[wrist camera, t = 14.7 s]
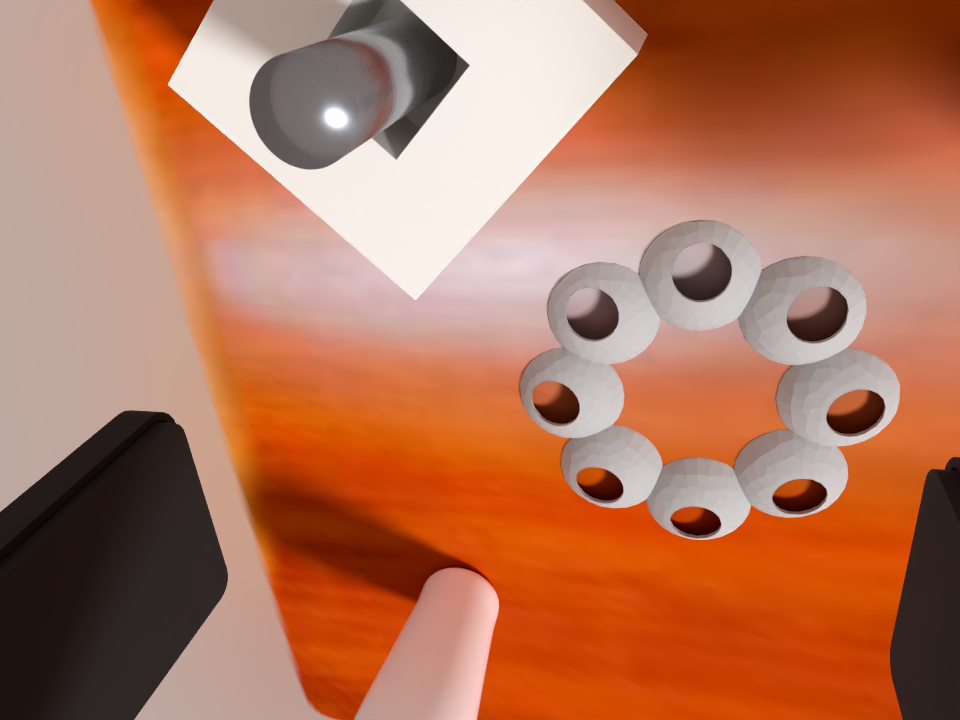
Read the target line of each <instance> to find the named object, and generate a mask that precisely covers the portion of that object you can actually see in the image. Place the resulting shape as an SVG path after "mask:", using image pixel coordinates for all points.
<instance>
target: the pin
mask: <svg viewBox="0 0 960 720" xmlns="http://www.w3.org/2000/svg"><path fill="white" fill-rule="evenodd" d="M456 65H457V53H456V52H455V51H454V50H453V49H452V48H451V47H450V46H449V45H448V44H447V43H446V42H445V41H443V40H442V39H441V38H440V37H439V36H438V35H437V34H436V33H435V32H434V31H433V30H432V29H431V28H430V27H429V26H427V25H426V24H425V23H424V22H423V21H422V20H421V19H420V18H419V17H418V16H417V15H416V14H415V13H414V12H413V13H407V14H404V15H400V16H397V17H394V18H391V19H388V20H385V21H382V22H379V23H376V24H373V25H370V26H367V27H363V28H360V29H357V30H354V31H351V32H348V33H345V34H342V35H339V36H336V37H333V38H330V39H327V40H323V41H320V42H317V43H314V44H311V45H308V46H305V47H302V48H299V49H296V50H293V51H290V52H287V53H283V54H280V55H278V56H275V57H273V58H271V59H270V60H268V61H267V62H266V63H265V64H263V66H262V67H261V68H260V69H259V70H258V72H257V73H256V75H255V77H254V79H253V82H252V85H251V88H250V95H249V107H250V114H251V119H252V122H253V125H254V127H255V130H256V132H257V134H258V136H259V137H260V139H261V140H262V142H263V143H264V145H265V146H266V147H267V148H268V149H269V150H270V151H271V152H272V153H273V154H274V155H275V156H276V157H277V158H279V159H280V160H282V161H283V162H285V163H287V164H289V165H291V166H294V167H297V168H301V169H307V170H315V169H321V168H325V167H328V166H330V165H332V164H333V163H335V162H336V161H338V160H339V159H341V158H342V157H344V156H345V155H347V154H348V153H350V152H351V151H353V150H354V149H356V148H357V147H359V146H360V145H362V144H363V143H365V142H366V141H368V140H369V139H371V138H372V137H374V136H375V135H377V134H378V133H380V132H381V131H383V130H384V129H386V128H387V127H389V126H390V125H392V124H393V123H395V122H396V121H398V120H399V119H401V118H402V117H404V116H405V115H407V114H408V113H410V112H411V111H413V110H414V109H416V108H417V107H419V106H420V105H422V104H423V103H425V102H426V101H428V100H429V99H431V98H432V97H434V96H435V95H437V94H438V93H440V92H441V91H443V90H444V89H445V88H446V87H447V86H448V84H449V83H450V82H451V80H452V78H453V76H454V73H455V70H456Z"/></svg>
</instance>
